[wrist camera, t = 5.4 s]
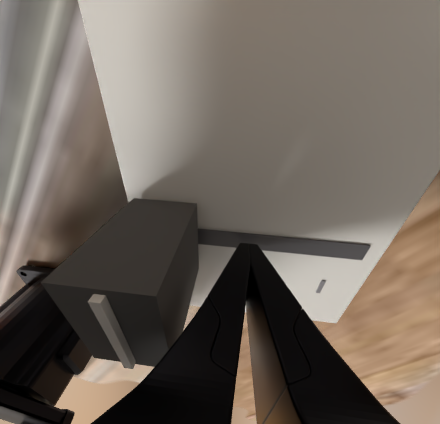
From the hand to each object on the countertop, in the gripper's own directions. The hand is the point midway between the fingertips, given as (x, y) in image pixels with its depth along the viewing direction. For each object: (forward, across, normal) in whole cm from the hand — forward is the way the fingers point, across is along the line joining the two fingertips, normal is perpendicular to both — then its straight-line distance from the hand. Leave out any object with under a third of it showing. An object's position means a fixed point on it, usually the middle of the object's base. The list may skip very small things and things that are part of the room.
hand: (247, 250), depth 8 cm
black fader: (0, +4, 0) cm, 4 cm away
